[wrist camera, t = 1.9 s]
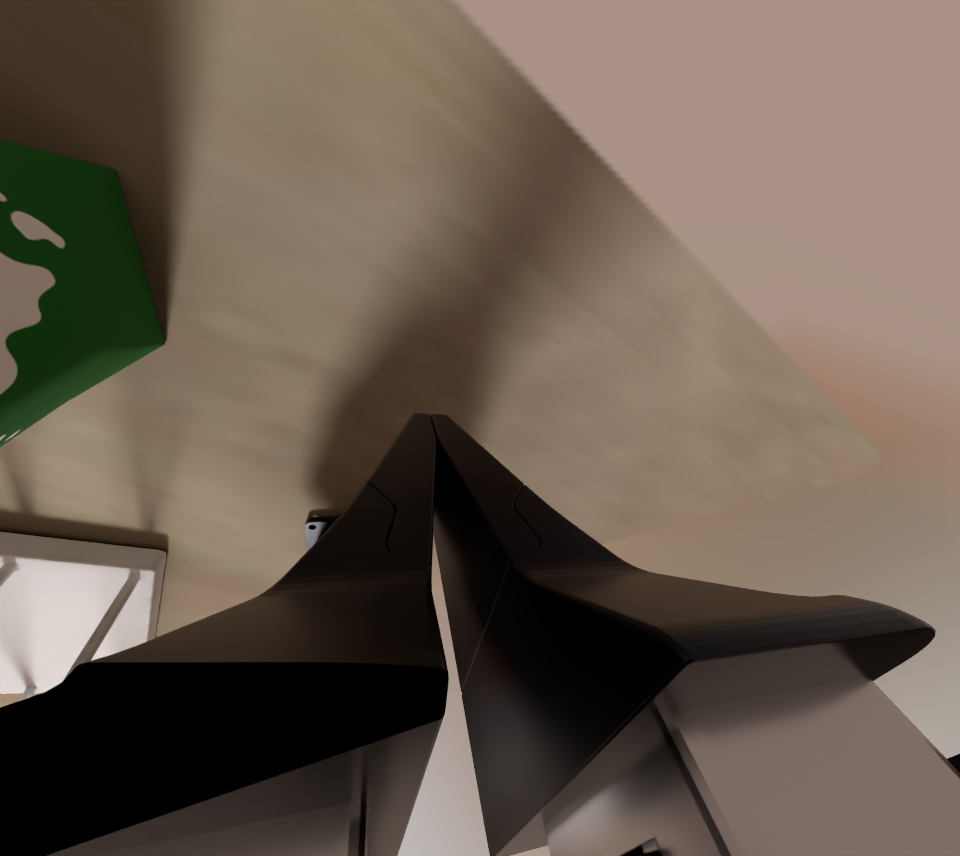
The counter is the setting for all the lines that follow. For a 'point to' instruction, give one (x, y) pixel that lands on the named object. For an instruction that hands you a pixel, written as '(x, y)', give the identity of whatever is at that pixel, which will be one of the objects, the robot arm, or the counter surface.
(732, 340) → the counter surface
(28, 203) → the soya milk
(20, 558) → the file sorter
